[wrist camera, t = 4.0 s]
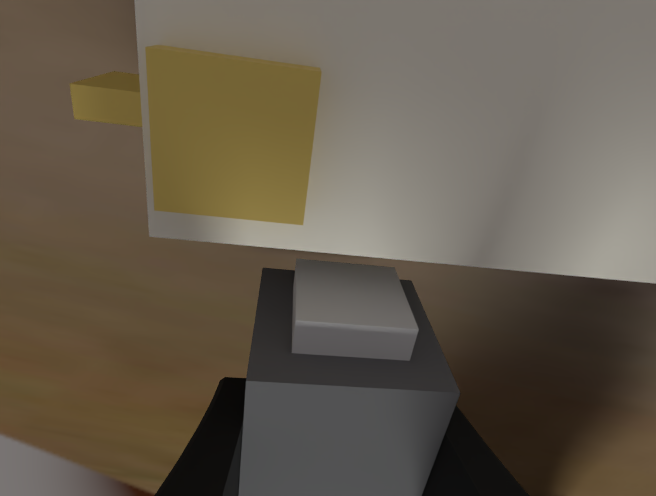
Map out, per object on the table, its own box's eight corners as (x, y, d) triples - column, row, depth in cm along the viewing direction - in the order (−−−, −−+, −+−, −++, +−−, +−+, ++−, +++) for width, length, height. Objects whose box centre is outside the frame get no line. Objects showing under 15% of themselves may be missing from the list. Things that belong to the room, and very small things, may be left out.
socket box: (719, 208, 15) (985, 327, 9) (159, 142, 13) (43, 243, 7) (813, 53, 13) (1245, 81, 7) (150, -59, 11) (-34, -156, 5)
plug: (381, 393, 14) (410, 524, 10) (253, 386, 13) (236, 521, 10) (418, 254, 11) (472, 360, 8) (264, 240, 11) (248, 345, 7)
